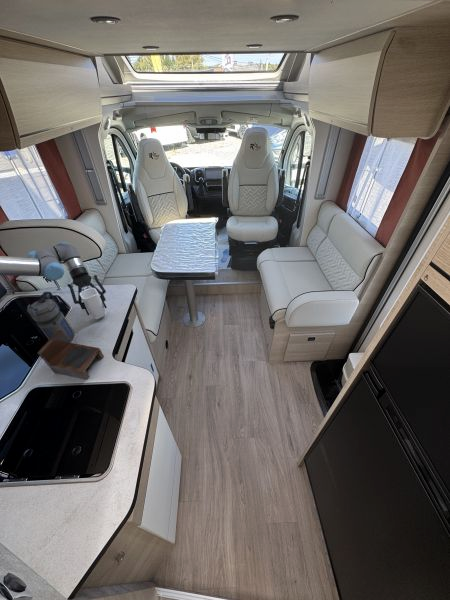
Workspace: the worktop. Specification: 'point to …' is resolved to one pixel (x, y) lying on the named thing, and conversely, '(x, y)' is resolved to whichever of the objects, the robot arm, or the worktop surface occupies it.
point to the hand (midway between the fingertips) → (97, 311)
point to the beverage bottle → (50, 317)
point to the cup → (93, 302)
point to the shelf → (68, 356)
